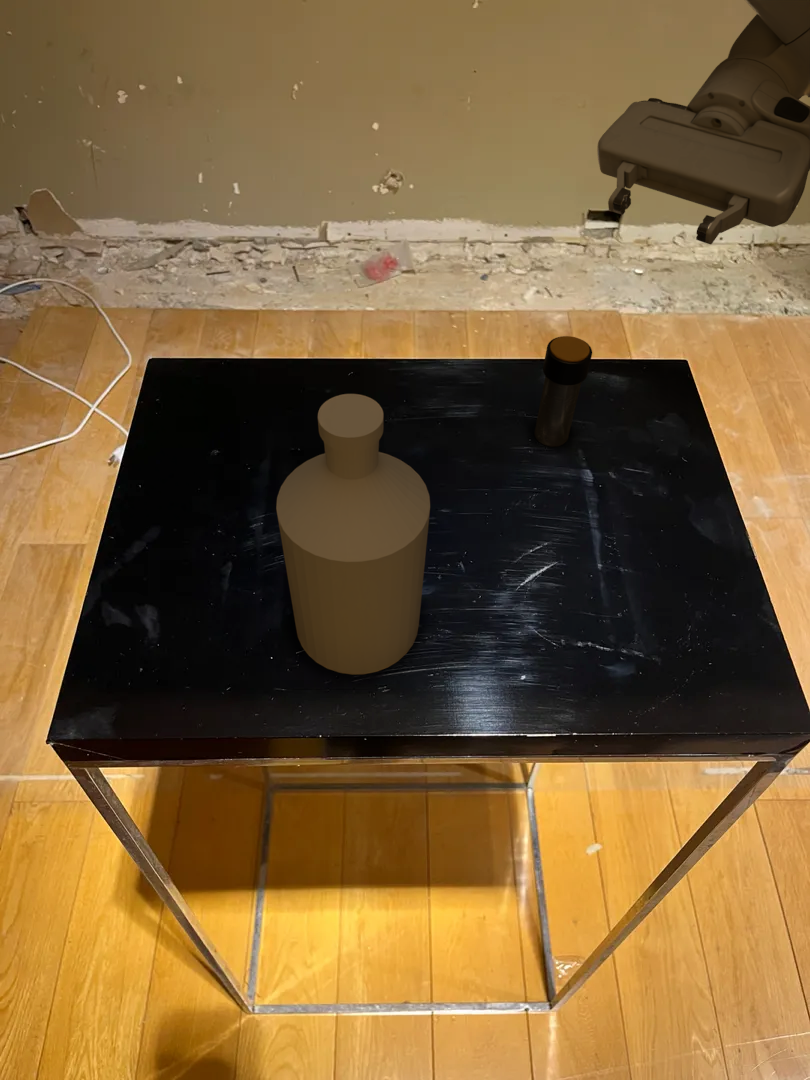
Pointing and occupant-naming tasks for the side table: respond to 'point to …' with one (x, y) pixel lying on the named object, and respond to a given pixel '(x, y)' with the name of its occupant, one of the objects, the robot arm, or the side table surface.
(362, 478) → the bottle
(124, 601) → the side table surface
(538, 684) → the side table surface
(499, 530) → the side table surface
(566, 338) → the torch
